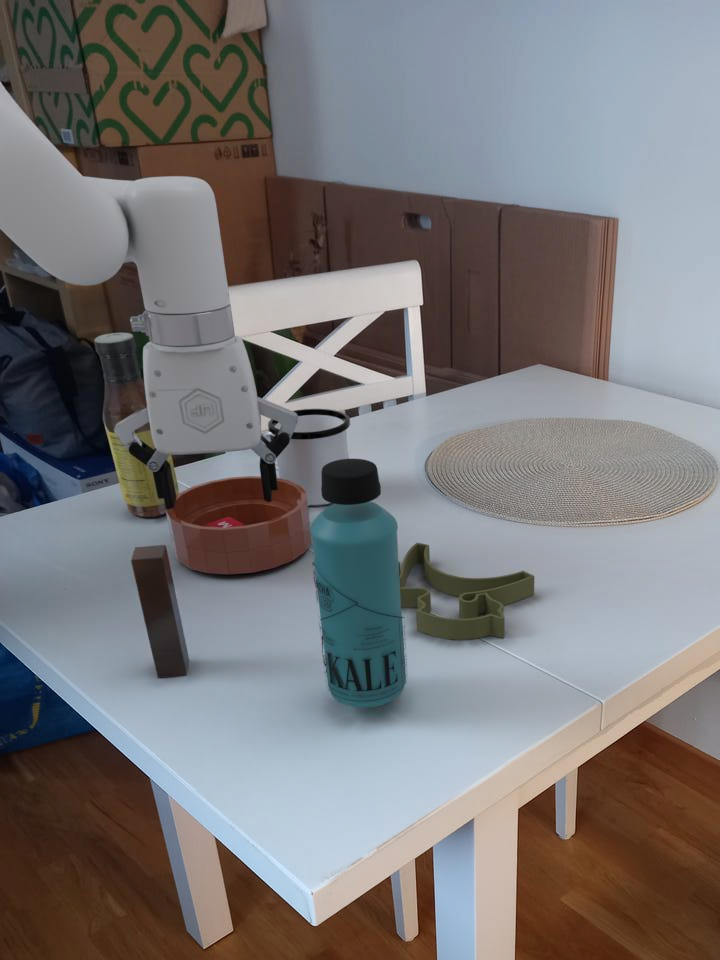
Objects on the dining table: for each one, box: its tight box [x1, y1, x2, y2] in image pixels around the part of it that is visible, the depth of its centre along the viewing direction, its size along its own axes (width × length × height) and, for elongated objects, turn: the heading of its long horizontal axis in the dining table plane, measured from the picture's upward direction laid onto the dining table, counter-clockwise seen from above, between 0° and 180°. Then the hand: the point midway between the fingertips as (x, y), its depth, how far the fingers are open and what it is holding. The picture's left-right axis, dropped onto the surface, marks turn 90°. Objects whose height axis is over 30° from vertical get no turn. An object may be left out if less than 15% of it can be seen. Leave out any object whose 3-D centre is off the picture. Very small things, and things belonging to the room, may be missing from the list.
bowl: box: [165, 475, 313, 575], centre depth 97 cm, size 14×14×6 cm
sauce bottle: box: [93, 332, 180, 518], centre depth 103 cm, size 6×6×20 cm
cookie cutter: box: [399, 542, 535, 641], centre depth 88 cm, size 18×12×2 cm, turn 56°
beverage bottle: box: [310, 458, 408, 708], centre depth 69 cm, size 6×7×20 cm
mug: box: [263, 408, 351, 507], centre depth 110 cm, size 12×10×9 cm
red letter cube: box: [204, 517, 245, 528], centre depth 96 cm, size 3×3×3 cm
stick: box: [130, 544, 190, 678], centre depth 76 cm, size 2×2×11 cm
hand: (220, 500), depth 94 cm, fingers open, 9 cm apart
